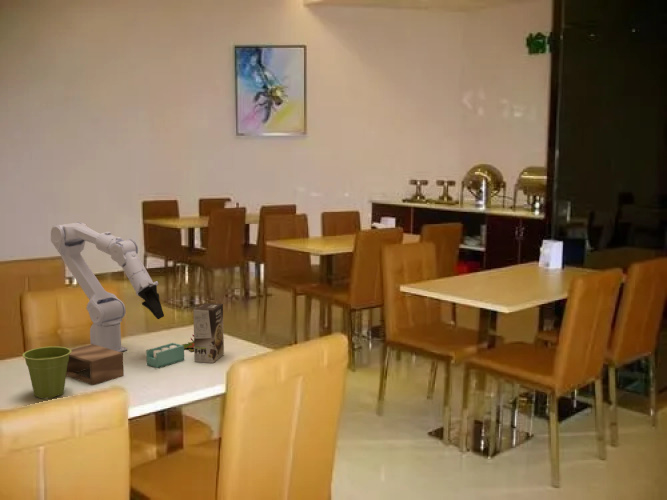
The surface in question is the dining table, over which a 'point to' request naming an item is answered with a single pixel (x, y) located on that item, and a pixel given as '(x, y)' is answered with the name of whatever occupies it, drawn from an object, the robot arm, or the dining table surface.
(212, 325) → the coffee box
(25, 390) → the dining table surface
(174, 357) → the tray
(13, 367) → the dining table surface
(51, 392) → the plant pot
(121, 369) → the wooden crate box
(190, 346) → the red green leafy plant
